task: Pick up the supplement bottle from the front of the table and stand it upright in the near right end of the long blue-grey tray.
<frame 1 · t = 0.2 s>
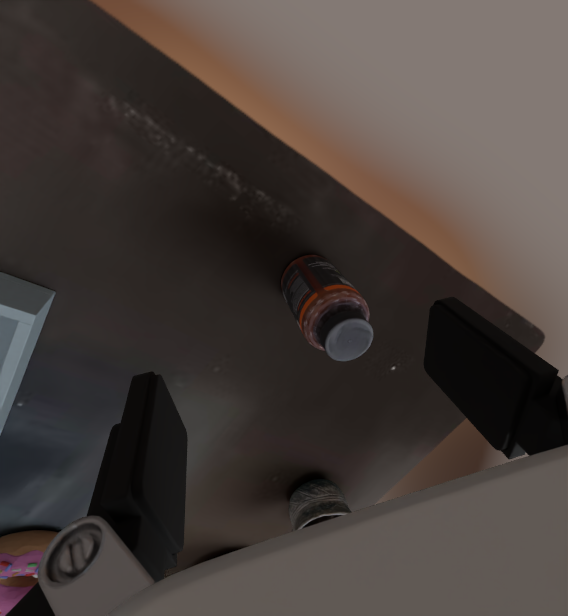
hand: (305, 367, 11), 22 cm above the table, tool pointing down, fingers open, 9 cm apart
donut: (34, 551, 47), on the table
mug: (307, 491, 55), on the table
supplement bottle: (306, 278, 35), on the table
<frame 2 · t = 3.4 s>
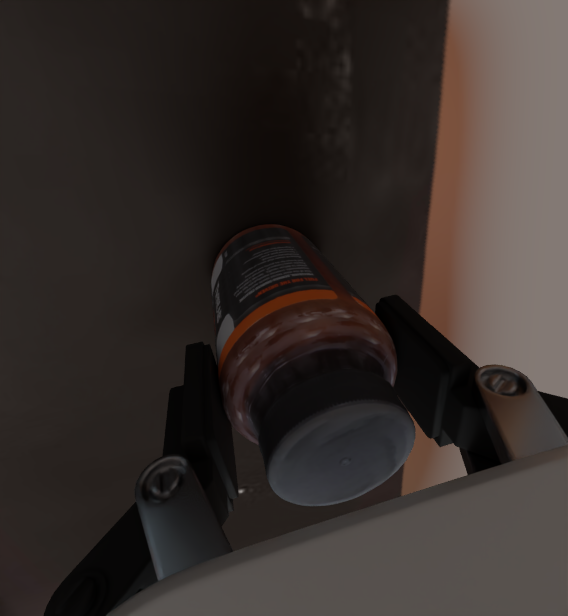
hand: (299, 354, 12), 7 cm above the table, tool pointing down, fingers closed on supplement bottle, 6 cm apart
supplement bottle: (266, 274, 18), on the table, touching gripper
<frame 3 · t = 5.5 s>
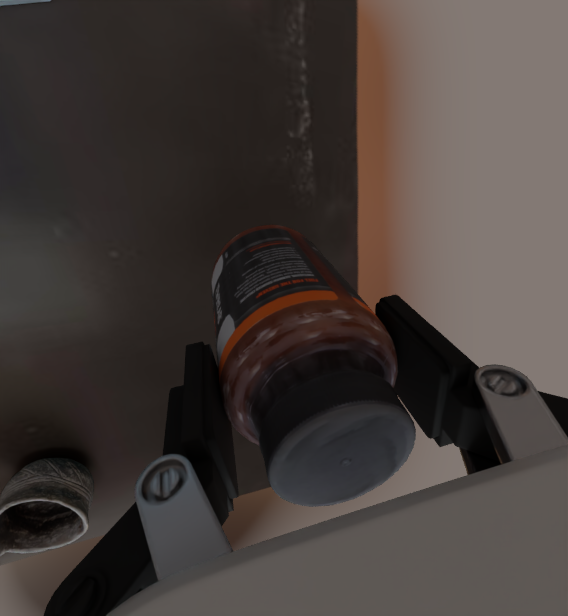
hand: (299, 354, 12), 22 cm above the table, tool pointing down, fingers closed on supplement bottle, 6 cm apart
mug: (48, 472, 41), on the table
supplement bottle: (266, 274, 18), point 15 cm above the table, touching gripper
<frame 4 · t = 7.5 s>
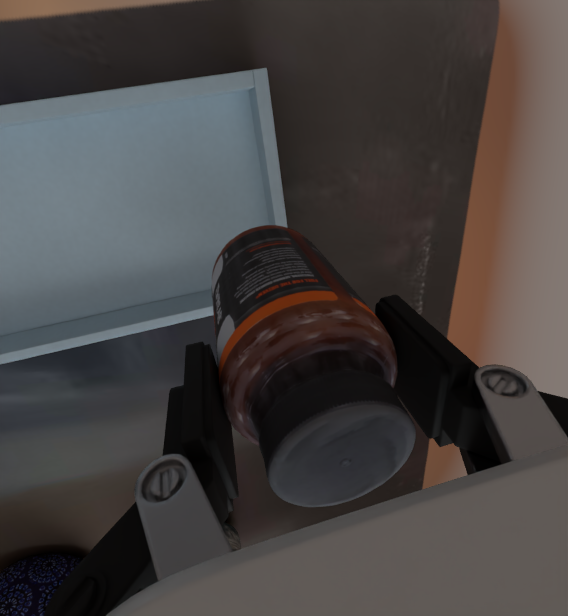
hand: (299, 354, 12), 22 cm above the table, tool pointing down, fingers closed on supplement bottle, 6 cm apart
mug: (202, 529, 55), on the table
blue-grey tray: (84, 227, 28), on the table
planter: (50, 569, 51), on the table
supplement bottle: (266, 275, 18), point 15 cm above the table, touching gripper
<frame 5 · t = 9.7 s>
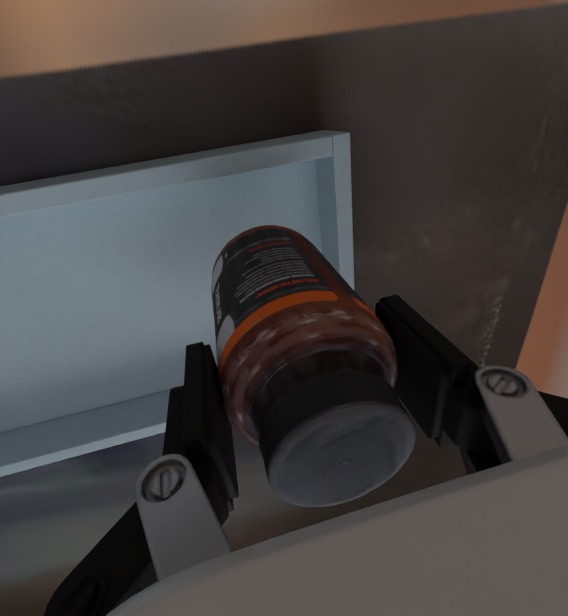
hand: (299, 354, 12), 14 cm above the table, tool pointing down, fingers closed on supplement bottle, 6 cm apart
blue-grey tray: (108, 309, 24), on the table
supplement bottle: (266, 274, 18), point 6 cm above the table, touching gripper
when the fingers open (8 cm above the table, at t = 11.6 s): supplement bottle stays where it is, resting on blue-grey tray.
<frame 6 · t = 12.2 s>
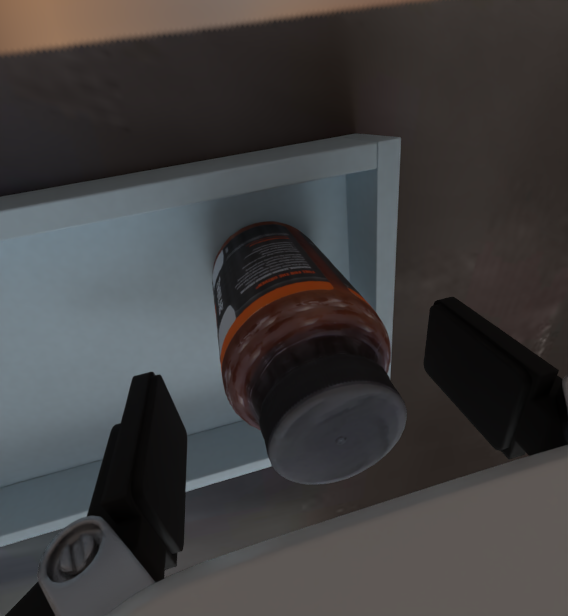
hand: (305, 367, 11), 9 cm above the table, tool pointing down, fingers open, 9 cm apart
blue-grey tray: (87, 354, 19), on the table
supplement bottle: (265, 270, 18), point 1 cm above the table, touching blue-grey tray
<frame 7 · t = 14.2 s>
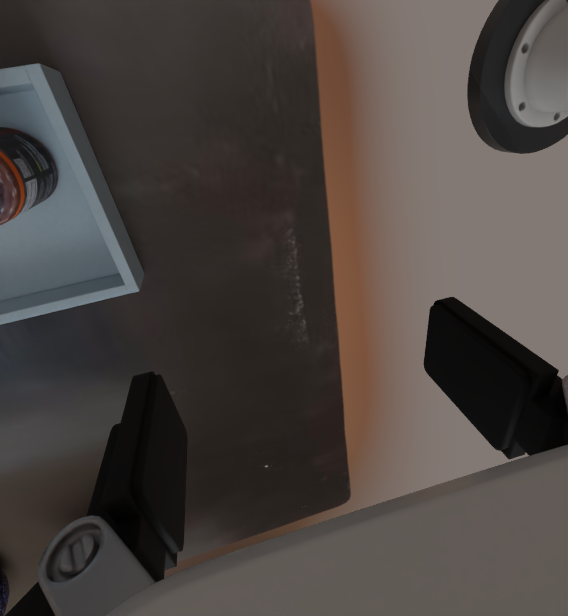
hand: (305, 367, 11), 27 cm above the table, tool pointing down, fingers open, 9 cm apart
supplement bottle: (21, 166, 28), point 1 cm above the table, touching blue-grey tray
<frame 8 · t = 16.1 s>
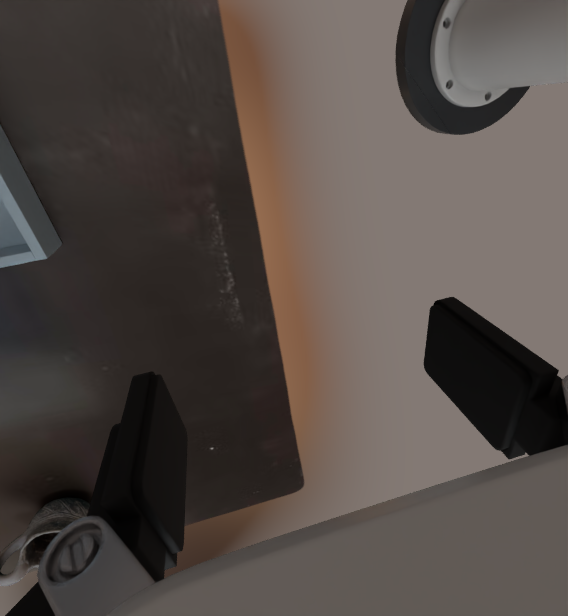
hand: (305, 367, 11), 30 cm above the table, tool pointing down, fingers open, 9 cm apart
mug: (61, 506, 56), on the table
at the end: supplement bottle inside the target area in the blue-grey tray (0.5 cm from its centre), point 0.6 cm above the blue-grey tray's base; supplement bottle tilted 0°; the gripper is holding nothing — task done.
